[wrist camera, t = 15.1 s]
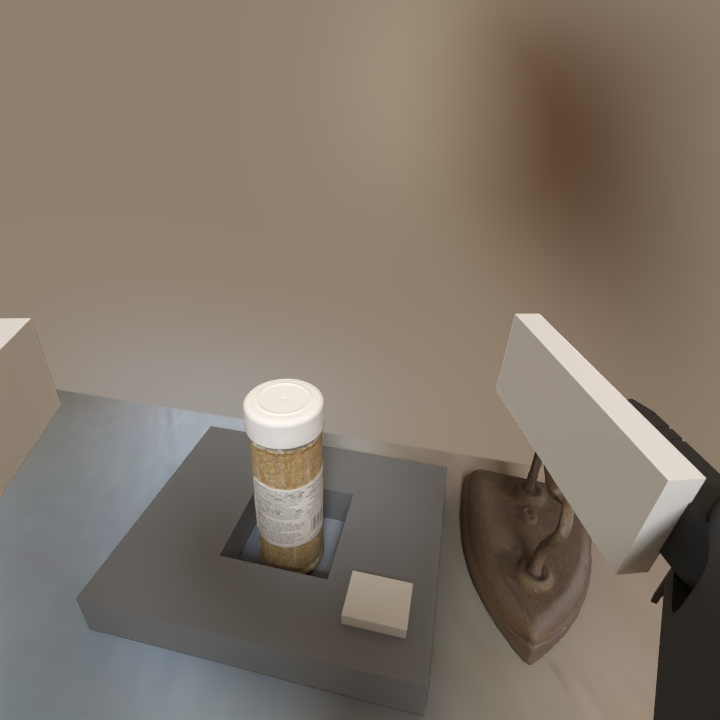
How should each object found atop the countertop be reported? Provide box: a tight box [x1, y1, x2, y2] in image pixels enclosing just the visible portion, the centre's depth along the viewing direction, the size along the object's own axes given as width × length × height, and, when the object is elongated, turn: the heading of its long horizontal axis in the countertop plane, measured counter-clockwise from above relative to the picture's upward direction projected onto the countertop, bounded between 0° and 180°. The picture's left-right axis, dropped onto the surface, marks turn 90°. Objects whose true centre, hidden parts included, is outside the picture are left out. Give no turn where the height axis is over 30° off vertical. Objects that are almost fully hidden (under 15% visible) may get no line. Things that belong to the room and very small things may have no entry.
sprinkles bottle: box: [243, 379, 325, 575], centre depth 30 cm, size 5×5×14 cm
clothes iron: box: [461, 452, 592, 665], centre depth 31 cm, size 14×10×11 cm
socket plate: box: [76, 426, 447, 716], centre depth 32 cm, size 20×16×4 cm
